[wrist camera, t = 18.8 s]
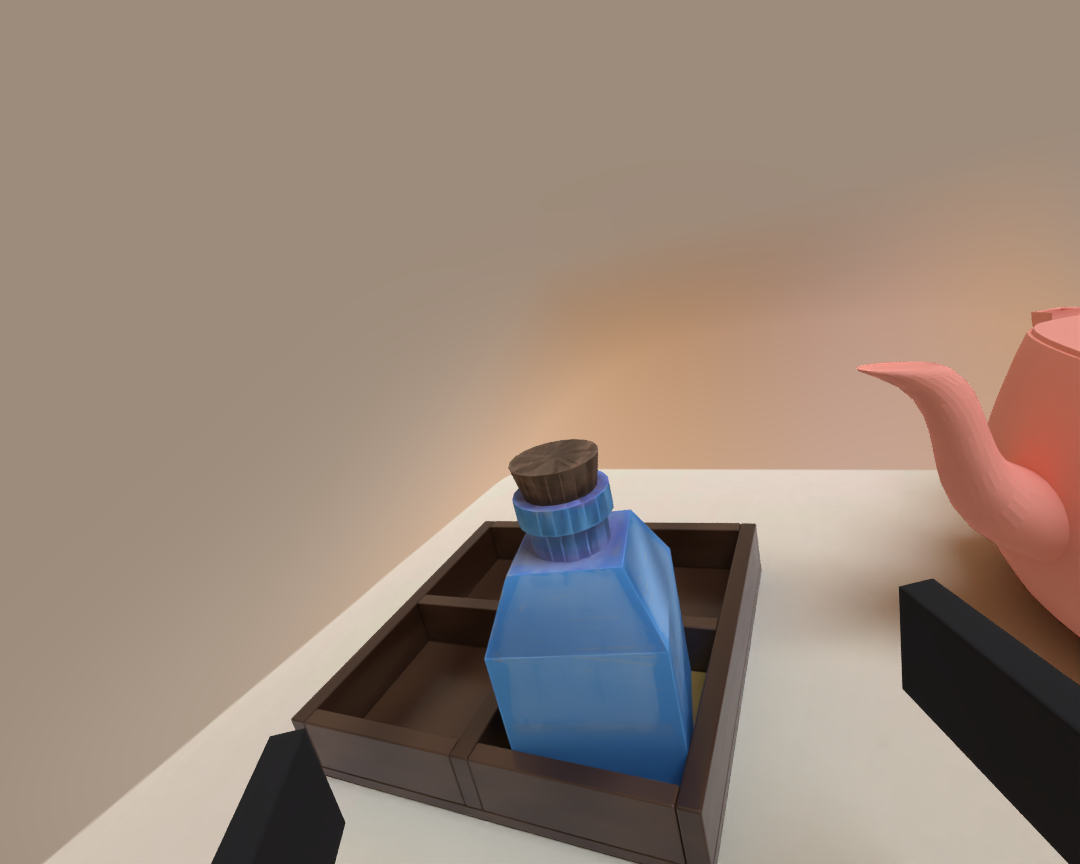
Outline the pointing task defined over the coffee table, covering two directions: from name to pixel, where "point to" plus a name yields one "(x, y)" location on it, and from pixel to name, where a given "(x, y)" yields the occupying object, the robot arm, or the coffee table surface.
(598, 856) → the coffee table surface
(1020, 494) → the teapot
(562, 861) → the coffee table surface
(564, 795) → the wooden compartment tray
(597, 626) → the perfume bottle
